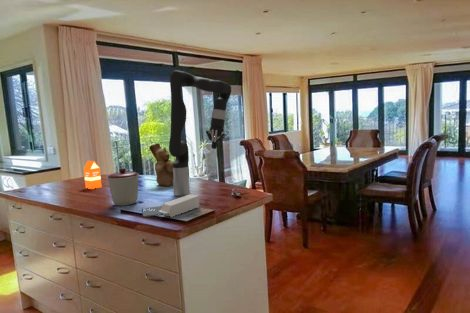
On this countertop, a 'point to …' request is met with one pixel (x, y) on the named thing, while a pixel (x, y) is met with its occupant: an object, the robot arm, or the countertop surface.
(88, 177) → the orange juice
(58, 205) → the countertop surface
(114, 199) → the canister
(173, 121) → the robot arm
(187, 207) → the milk
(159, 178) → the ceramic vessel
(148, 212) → the mat
